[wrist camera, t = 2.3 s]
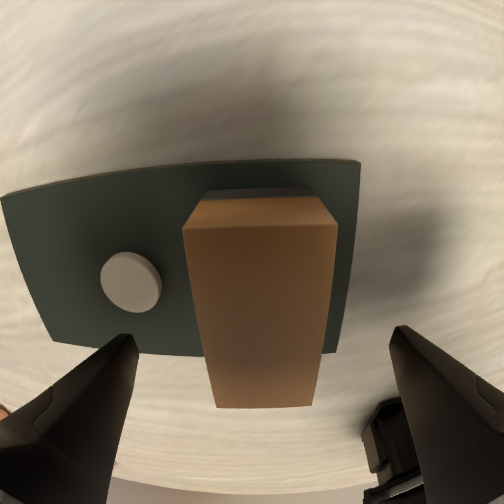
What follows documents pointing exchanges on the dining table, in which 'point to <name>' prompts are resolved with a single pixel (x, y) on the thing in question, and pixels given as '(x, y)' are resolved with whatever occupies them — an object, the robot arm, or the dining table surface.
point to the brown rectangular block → (261, 292)
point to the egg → (3, 414)
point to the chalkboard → (153, 244)
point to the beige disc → (131, 282)
